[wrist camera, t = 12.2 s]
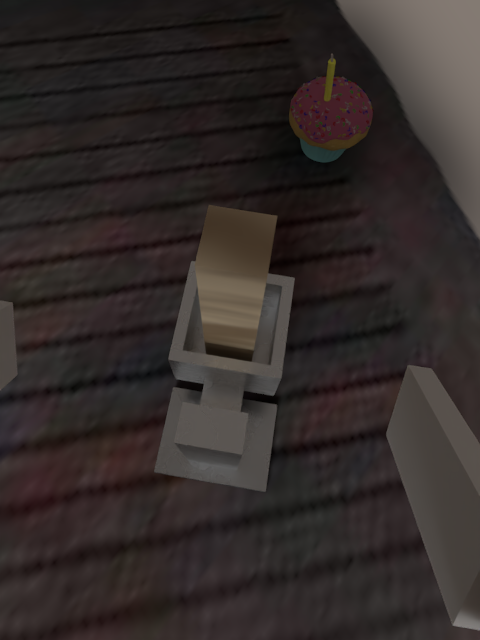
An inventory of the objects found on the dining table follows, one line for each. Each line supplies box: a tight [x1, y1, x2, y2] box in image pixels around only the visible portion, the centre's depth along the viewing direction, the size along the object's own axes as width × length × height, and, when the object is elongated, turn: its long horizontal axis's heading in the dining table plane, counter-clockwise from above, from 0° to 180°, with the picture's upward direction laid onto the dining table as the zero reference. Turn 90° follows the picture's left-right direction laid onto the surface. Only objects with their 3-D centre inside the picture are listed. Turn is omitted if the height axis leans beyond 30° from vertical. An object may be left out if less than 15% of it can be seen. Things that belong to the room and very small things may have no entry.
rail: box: [195, 205, 277, 362], centre depth 29 cm, size 4×4×14 cm
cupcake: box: [289, 54, 373, 162], centre depth 45 cm, size 9×8×12 cm
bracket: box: [154, 261, 295, 492], centre depth 34 cm, size 14×9×12 cm, turn 171°
